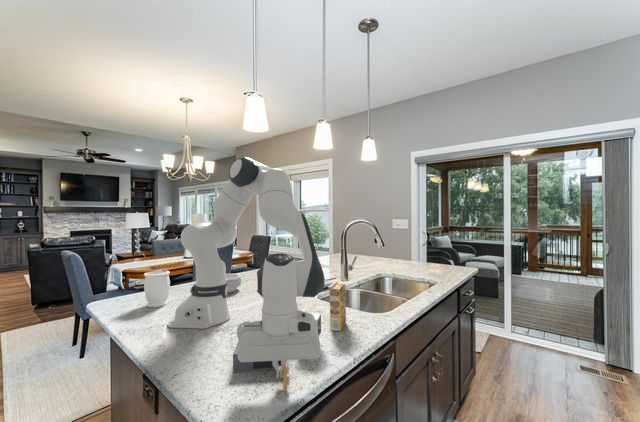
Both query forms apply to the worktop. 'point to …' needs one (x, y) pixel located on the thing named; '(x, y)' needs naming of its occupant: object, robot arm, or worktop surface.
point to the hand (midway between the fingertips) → (279, 376)
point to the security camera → (317, 322)
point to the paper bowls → (232, 282)
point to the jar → (157, 288)
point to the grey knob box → (250, 364)
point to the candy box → (337, 307)
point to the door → (285, 377)
